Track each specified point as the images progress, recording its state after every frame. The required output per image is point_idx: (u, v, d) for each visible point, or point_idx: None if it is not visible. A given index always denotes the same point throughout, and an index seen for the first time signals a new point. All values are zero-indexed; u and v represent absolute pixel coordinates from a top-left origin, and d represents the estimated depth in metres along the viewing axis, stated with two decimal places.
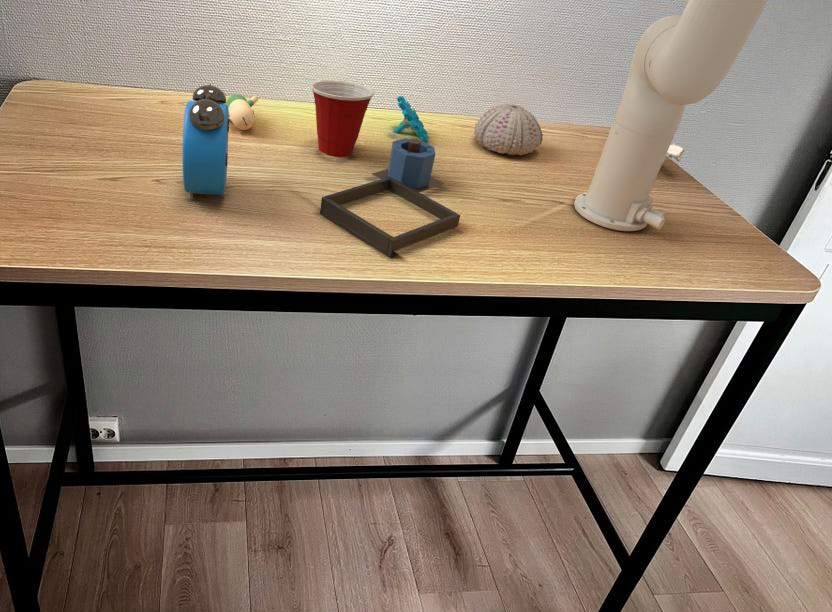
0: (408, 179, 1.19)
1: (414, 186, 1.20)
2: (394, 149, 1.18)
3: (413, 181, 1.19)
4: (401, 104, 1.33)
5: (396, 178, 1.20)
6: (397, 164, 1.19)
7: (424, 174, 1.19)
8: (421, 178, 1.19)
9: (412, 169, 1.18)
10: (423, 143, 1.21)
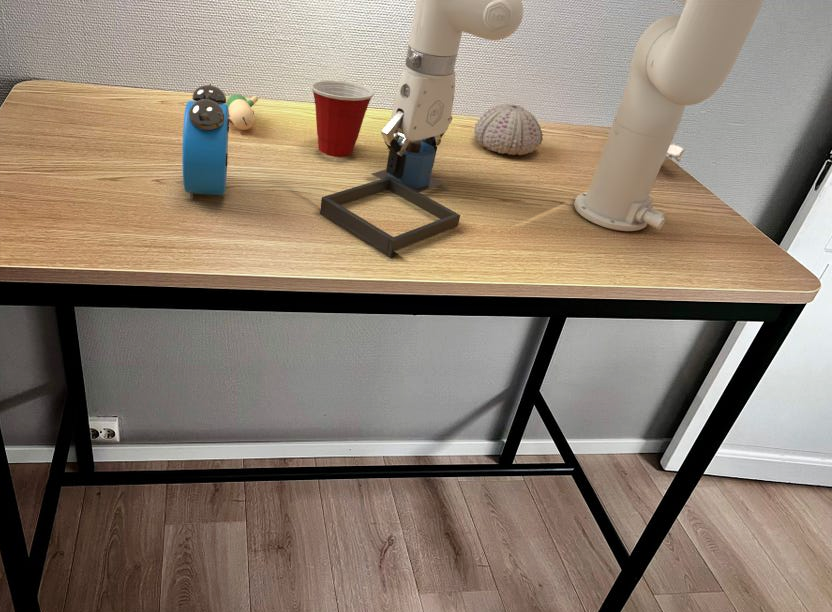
0: (408, 179, 1.19)
1: (414, 186, 1.20)
2: None
3: (413, 181, 1.19)
4: None
5: (396, 178, 1.20)
6: None
7: (424, 174, 1.19)
8: (421, 178, 1.19)
9: (412, 169, 1.18)
10: (423, 143, 1.21)
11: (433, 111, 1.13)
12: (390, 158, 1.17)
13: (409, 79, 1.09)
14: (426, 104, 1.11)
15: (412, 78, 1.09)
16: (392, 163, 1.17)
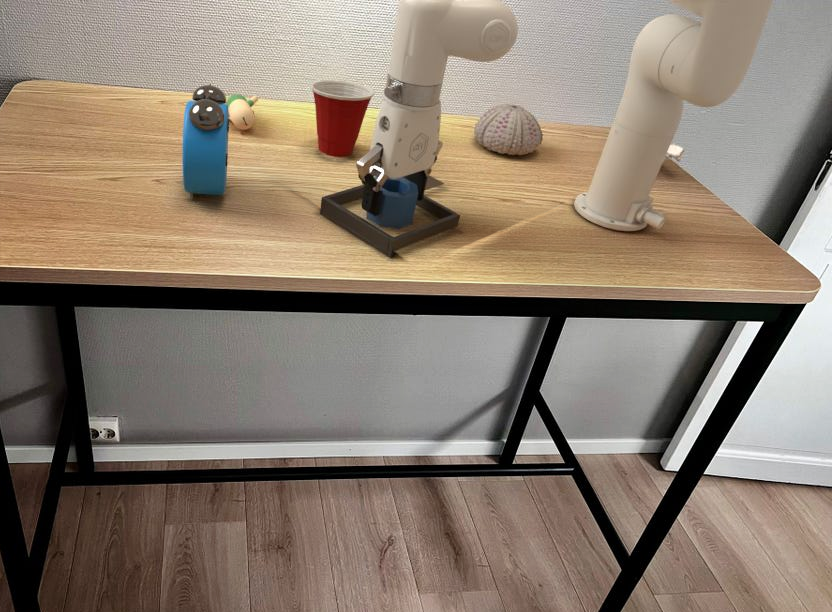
0: (388, 221, 1.07)
1: (395, 228, 1.08)
2: None
3: (394, 223, 1.08)
4: None
5: (375, 220, 1.08)
6: None
7: (406, 215, 1.08)
8: (402, 220, 1.08)
9: (392, 210, 1.06)
10: (404, 181, 1.09)
11: (416, 145, 1.02)
12: (365, 194, 1.05)
13: (389, 110, 0.97)
14: (408, 138, 0.99)
15: (392, 109, 0.97)
16: (367, 199, 1.05)
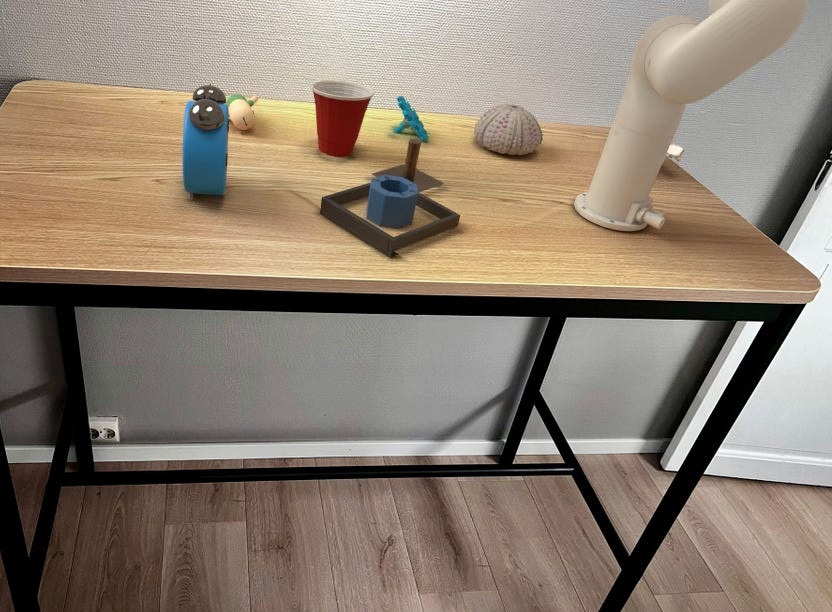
0: (388, 221, 1.07)
1: (395, 228, 1.08)
2: (372, 188, 1.06)
3: (394, 223, 1.08)
4: (401, 104, 1.33)
5: (375, 220, 1.08)
6: (376, 205, 1.07)
7: (406, 215, 1.08)
8: (402, 220, 1.08)
9: (392, 210, 1.06)
10: (404, 181, 1.09)
11: None
12: None
13: None
14: None
15: None
16: None
